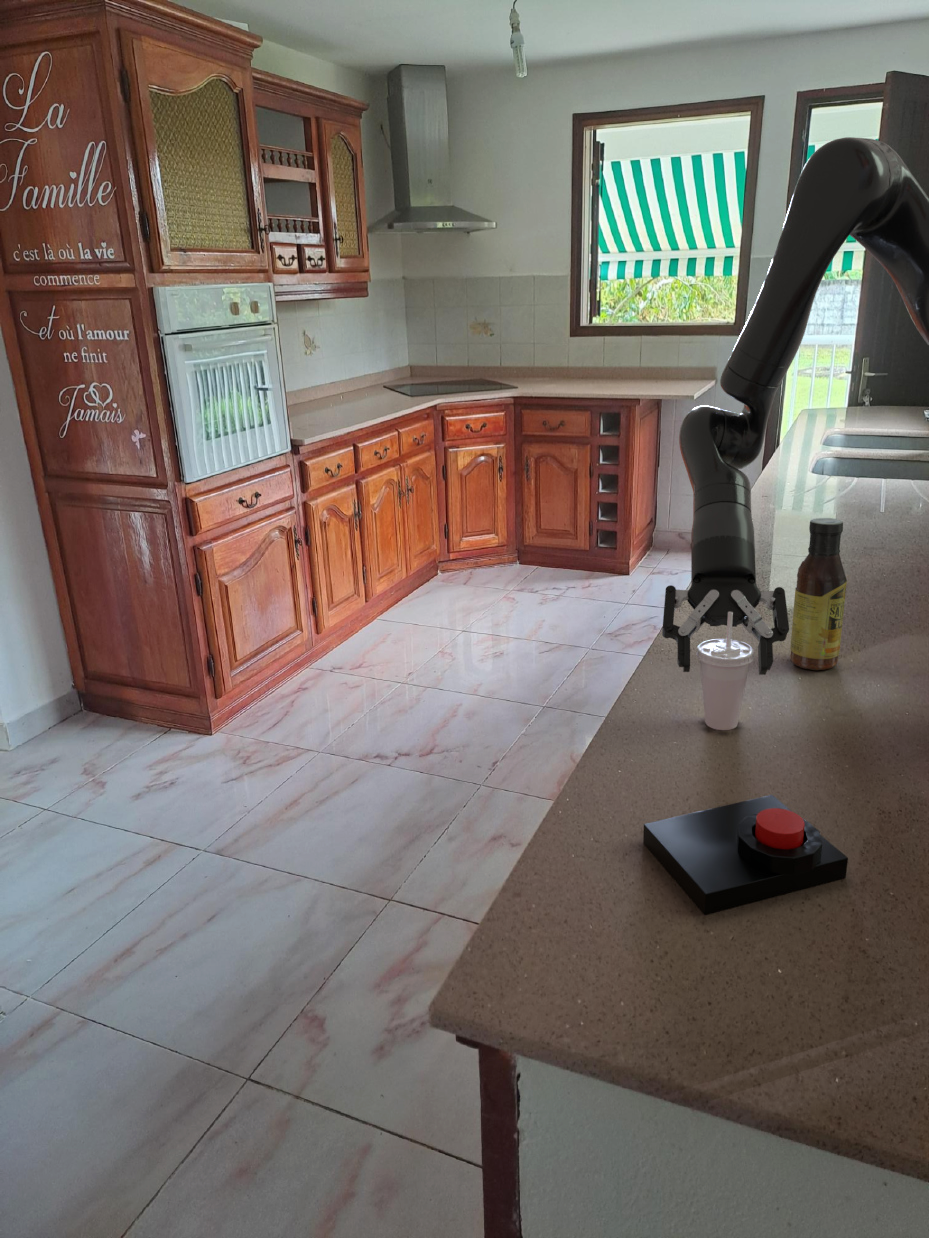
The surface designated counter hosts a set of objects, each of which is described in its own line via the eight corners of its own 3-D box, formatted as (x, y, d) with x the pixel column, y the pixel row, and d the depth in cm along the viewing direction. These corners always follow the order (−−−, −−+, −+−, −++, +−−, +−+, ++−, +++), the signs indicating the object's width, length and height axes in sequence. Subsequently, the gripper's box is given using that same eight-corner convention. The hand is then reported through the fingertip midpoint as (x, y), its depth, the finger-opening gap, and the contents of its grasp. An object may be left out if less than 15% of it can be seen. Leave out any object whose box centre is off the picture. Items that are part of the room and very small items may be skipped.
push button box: (770, 813, 87) (773, 778, 86) (849, 881, 77) (854, 842, 75) (643, 843, 84) (643, 807, 82) (707, 919, 73) (709, 879, 72)
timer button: (784, 820, 80) (785, 804, 79) (812, 845, 76) (814, 827, 76) (745, 829, 79) (746, 813, 78) (772, 855, 75) (774, 837, 75)
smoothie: (760, 724, 105) (768, 613, 100) (725, 741, 101) (731, 628, 96) (717, 706, 110) (723, 600, 105) (682, 721, 106) (686, 613, 101)
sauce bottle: (834, 675, 116) (849, 529, 109) (784, 668, 119) (796, 525, 112) (841, 657, 121) (856, 517, 114) (794, 651, 124) (805, 513, 117)
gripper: (664, 533, 106) (662, 657, 100) (788, 533, 103) (794, 661, 97) (662, 562, 113) (661, 680, 107) (779, 563, 110) (784, 684, 104)
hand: (724, 671), depth 102 cm, fingers open, 8 cm apart
